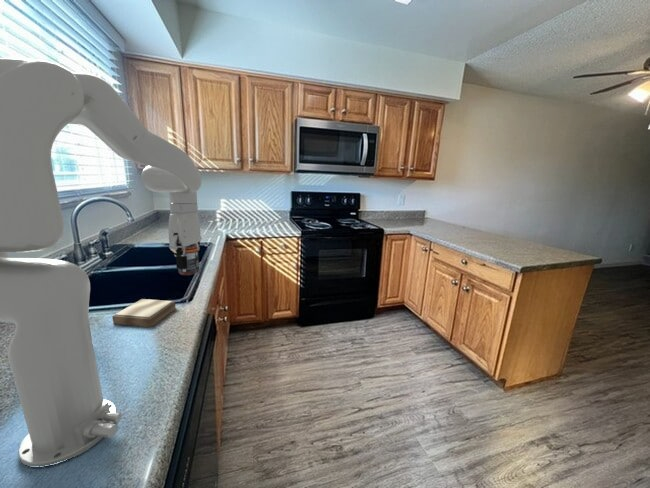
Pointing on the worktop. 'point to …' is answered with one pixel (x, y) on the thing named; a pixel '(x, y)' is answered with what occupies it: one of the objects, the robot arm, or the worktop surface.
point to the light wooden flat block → (144, 313)
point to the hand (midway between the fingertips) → (188, 264)
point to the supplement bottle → (190, 260)
